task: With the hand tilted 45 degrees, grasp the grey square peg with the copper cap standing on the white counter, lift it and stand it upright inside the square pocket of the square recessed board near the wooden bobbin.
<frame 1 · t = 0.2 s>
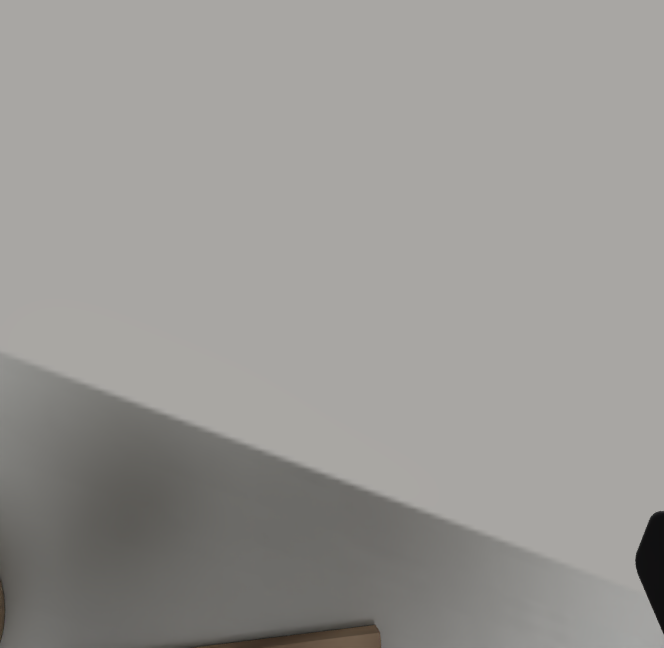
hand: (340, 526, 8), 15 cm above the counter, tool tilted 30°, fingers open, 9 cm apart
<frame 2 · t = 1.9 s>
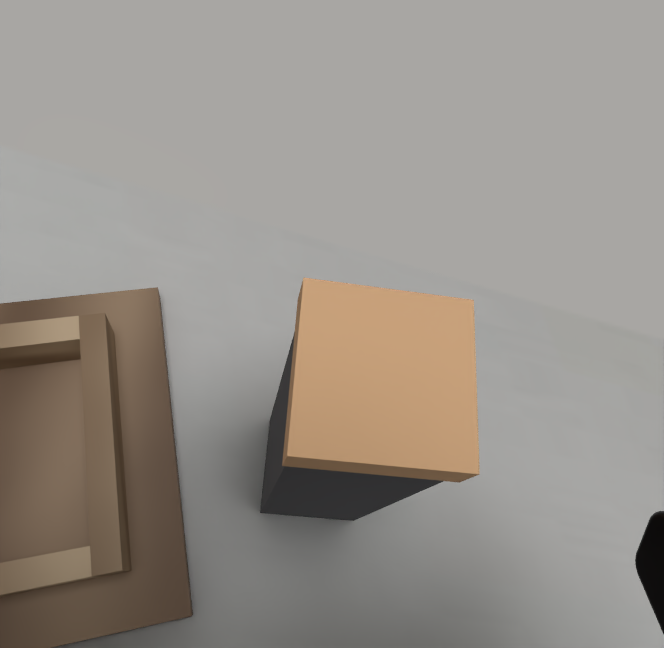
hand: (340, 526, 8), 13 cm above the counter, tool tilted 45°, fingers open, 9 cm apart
square recessed board: (0, 468, 19), on the counter
grey square peg: (310, 469, 21), on the counter
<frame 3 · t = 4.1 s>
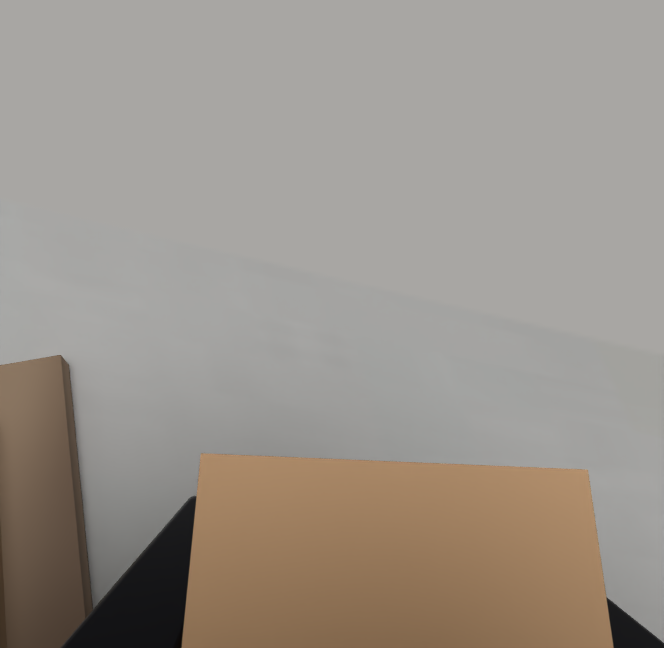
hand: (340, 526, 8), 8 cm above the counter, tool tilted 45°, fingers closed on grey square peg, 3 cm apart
grey square peg: (291, 608, 15), on the counter, touching gripper
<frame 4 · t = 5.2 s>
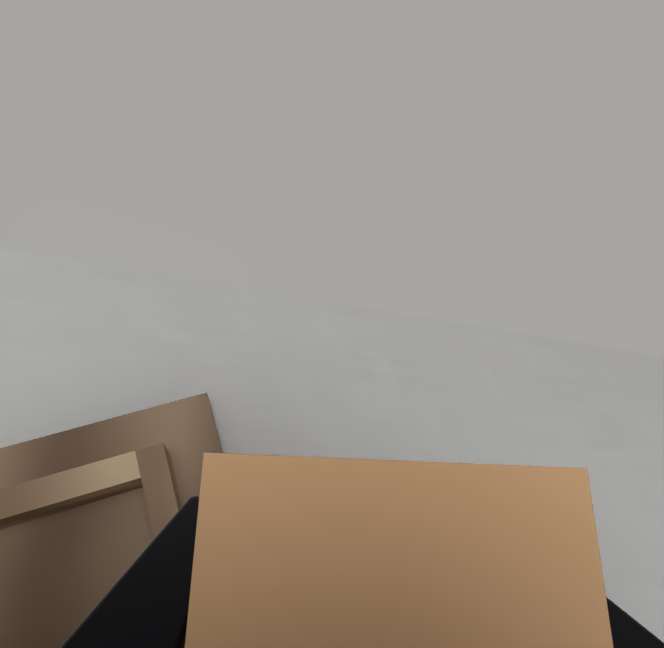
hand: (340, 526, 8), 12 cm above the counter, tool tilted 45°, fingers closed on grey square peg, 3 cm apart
square recessed board: (70, 622, 18), on the counter
grey square peg: (291, 609, 15), point 5 cm above the counter, touching gripper
when the fingers open (9 cm above the counter, at t = 6.6 s): grey square peg stays where it is, resting on square recessed board.
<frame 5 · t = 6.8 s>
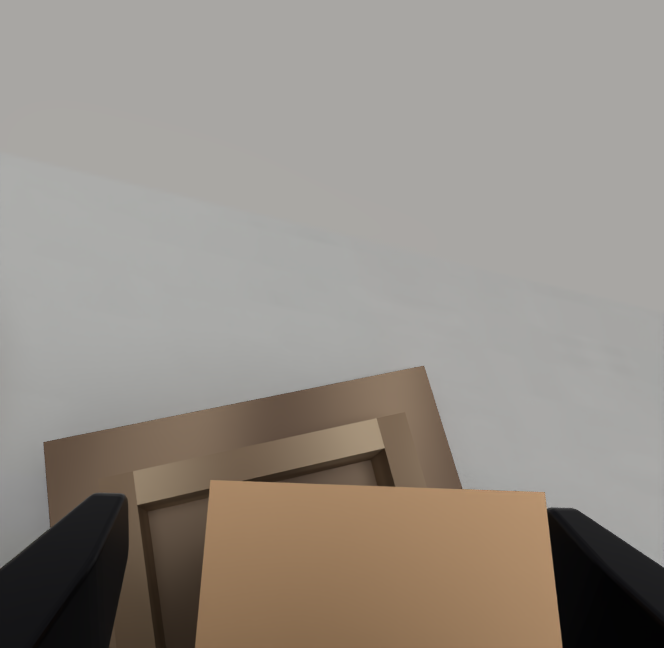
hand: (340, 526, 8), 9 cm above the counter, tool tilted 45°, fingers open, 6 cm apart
square recessed board: (285, 603, 16), on the counter
grey square peg: (289, 608, 15), point 1 cm above the counter, touching square recessed board
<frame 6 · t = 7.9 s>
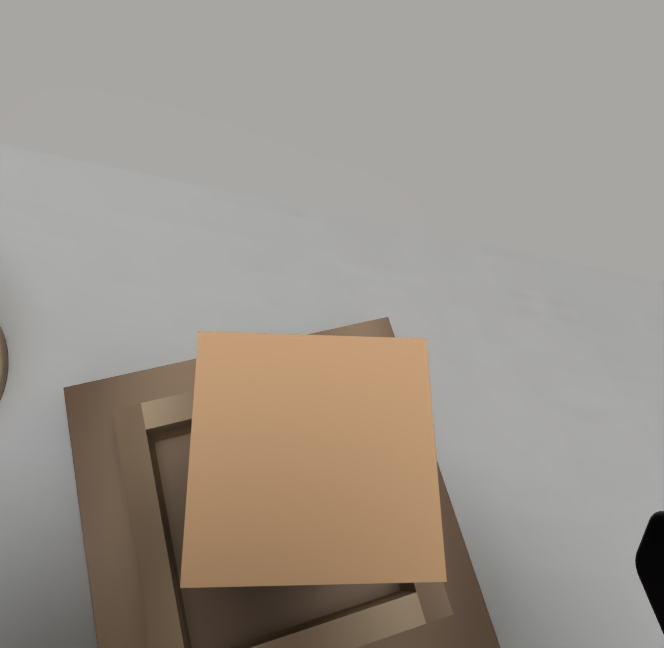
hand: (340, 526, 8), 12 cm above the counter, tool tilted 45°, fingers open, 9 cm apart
square recessed board: (274, 517, 19), on the counter
grey square peg: (276, 517, 18), point 1 cm above the counter, touching square recessed board
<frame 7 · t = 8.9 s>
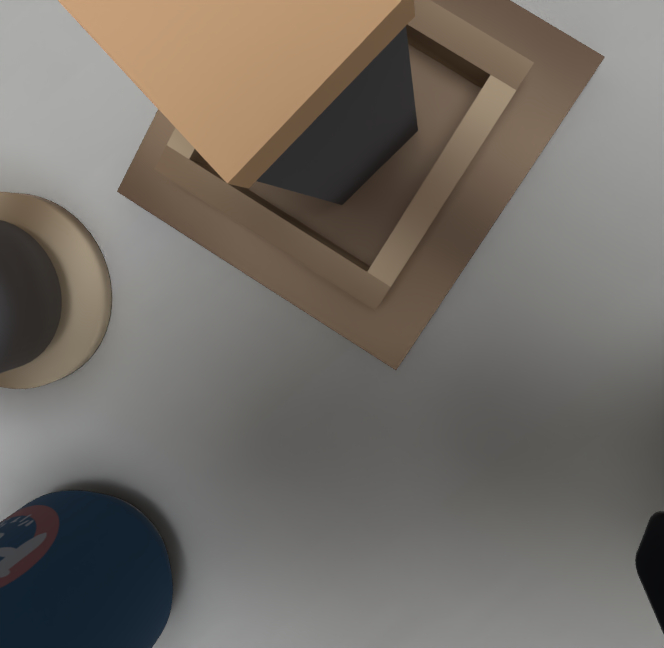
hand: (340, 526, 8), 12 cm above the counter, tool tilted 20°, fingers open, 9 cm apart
square recessed board: (345, 133, 19), on the counter
bobbin: (22, 290, 22), on the counter
soda can: (105, 557, 23), on the counter
grey square peg: (344, 130, 19), point 1 cm above the counter, touching square recessed board
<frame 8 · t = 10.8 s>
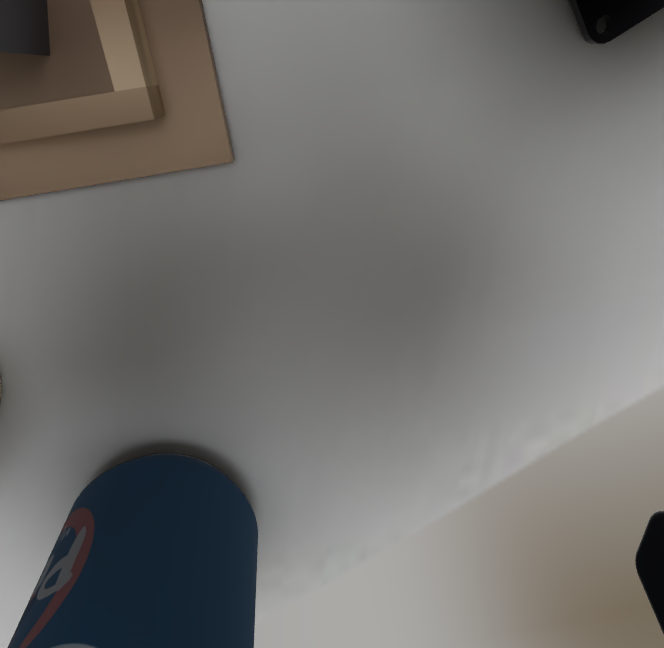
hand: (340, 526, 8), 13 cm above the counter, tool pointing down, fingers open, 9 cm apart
soda can: (171, 508, 24), on the counter
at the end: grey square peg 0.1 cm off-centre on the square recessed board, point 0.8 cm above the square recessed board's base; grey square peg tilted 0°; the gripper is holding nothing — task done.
